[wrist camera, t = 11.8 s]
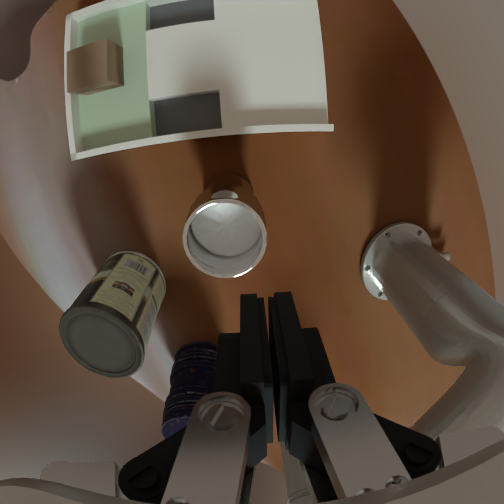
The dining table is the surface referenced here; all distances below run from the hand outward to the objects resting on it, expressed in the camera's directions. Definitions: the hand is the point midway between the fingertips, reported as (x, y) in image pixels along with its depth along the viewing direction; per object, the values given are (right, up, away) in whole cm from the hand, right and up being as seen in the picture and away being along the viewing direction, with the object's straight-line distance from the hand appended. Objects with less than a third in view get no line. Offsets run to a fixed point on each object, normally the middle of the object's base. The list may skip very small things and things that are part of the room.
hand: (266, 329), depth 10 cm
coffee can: (-18, -2, +31) cm, 36 cm away
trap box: (-8, +25, +20) cm, 33 cm away
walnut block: (-18, +24, +17) cm, 34 cm away
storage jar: (-9, -16, +37) cm, 42 cm away
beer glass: (-3, +9, +27) cm, 29 cm away
